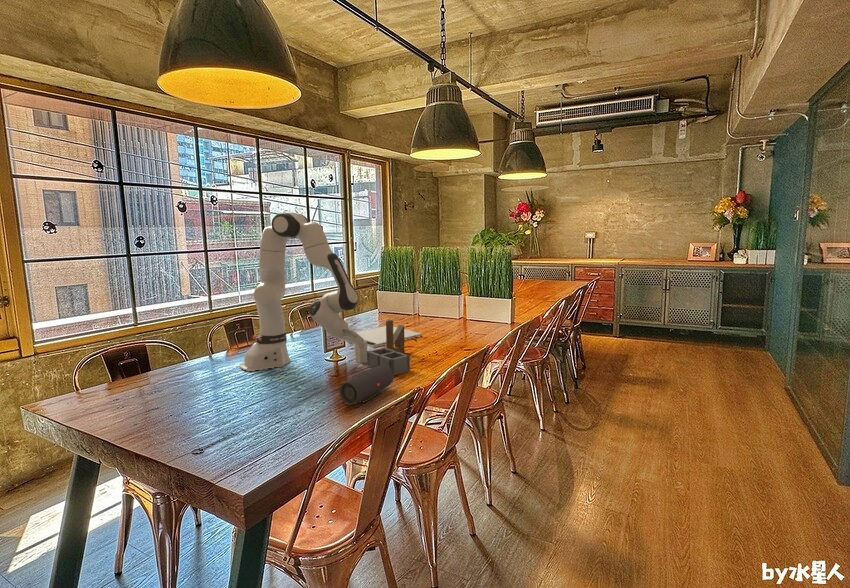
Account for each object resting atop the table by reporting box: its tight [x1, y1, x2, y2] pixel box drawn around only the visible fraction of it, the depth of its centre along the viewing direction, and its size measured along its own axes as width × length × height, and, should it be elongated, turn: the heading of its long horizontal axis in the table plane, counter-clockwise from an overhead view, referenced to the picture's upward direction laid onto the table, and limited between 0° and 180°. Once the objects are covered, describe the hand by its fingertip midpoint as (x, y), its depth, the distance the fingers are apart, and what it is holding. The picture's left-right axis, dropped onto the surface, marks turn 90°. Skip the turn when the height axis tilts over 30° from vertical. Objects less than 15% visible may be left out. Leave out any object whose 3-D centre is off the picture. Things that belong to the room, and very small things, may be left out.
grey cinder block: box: [366, 347, 411, 376], centre depth 202 cm, size 10×18×7 cm, turn 41°
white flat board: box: [355, 325, 423, 349], centre depth 261 cm, size 35×2×31 cm
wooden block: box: [385, 319, 406, 354], centre depth 224 cm, size 4×11×18 cm, turn 142°
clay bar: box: [354, 340, 368, 365], centre depth 213 cm, size 4×4×10 cm
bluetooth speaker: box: [339, 365, 395, 406], centre depth 168 cm, size 23×9×10 cm, turn 151°
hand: (357, 345), depth 211 cm, fingers open, 8 cm apart
